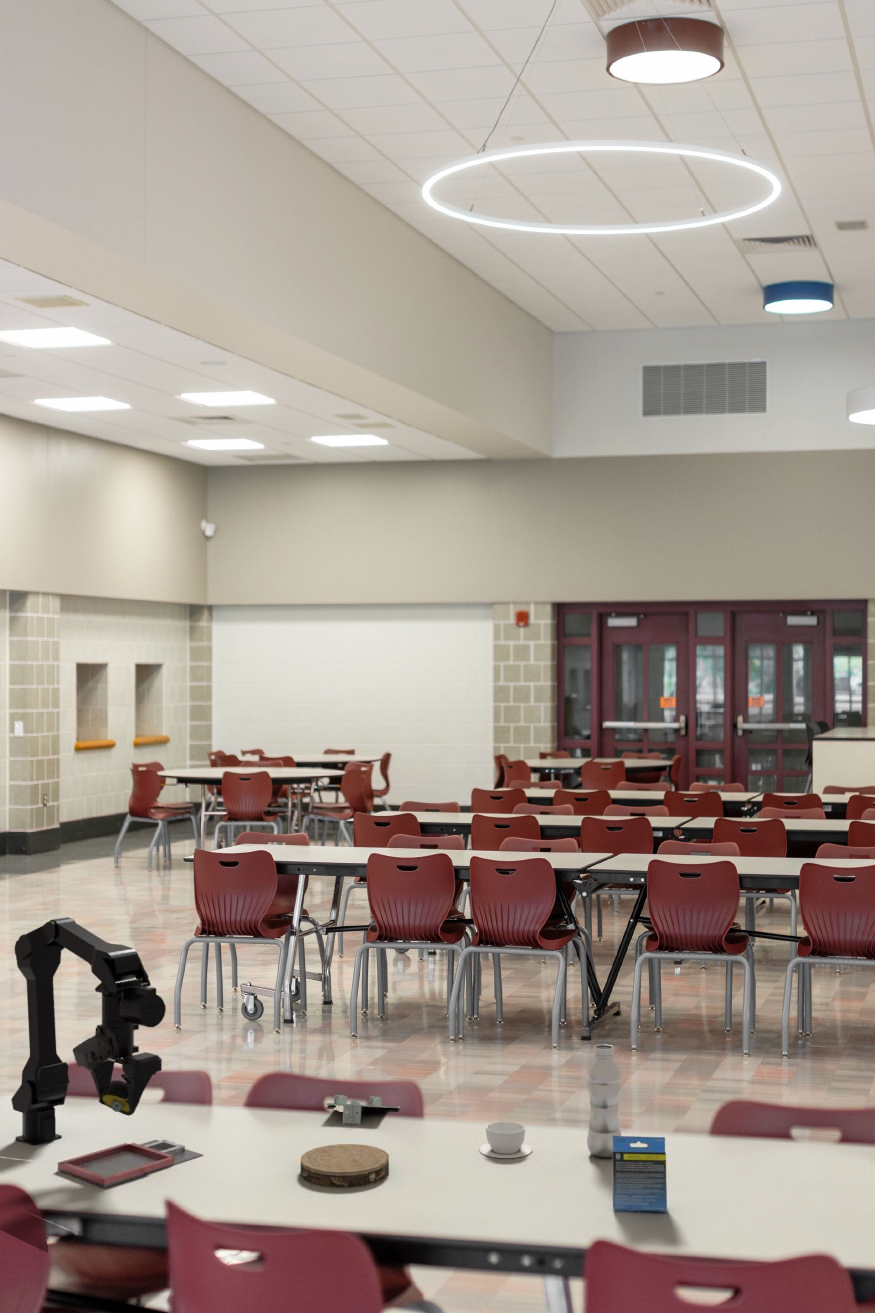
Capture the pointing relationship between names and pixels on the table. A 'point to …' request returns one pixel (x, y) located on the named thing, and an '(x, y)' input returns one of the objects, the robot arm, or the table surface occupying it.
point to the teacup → (505, 1140)
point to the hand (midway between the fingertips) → (117, 1105)
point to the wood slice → (344, 1165)
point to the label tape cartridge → (639, 1174)
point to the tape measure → (116, 1097)
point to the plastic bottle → (603, 1101)
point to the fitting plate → (125, 1162)
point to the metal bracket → (355, 1108)
